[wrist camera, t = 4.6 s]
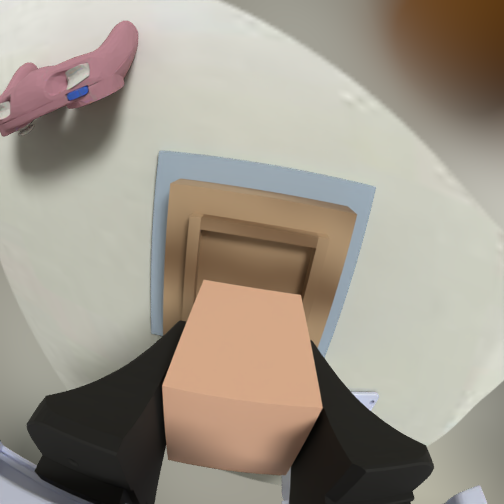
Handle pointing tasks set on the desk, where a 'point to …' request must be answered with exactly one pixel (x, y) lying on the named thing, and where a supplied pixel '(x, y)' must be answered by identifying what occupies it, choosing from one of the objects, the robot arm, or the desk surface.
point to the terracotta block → (241, 382)
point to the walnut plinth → (253, 246)
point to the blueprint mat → (261, 179)
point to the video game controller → (68, 81)
